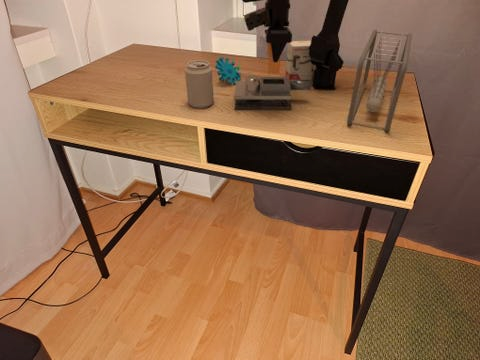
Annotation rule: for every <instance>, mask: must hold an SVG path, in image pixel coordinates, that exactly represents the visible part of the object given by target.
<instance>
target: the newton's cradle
mask: <svg viewBox="0 0 480 360" xmlns="http://www.w3.org/2000/svg"><path fill="white" fill-rule="evenodd" d="M378 34H379V36H378V39H377V35H378ZM384 34H386V35H394V36H396V35H397V36H401V37H400V38H399V39H398V42H395V41H391V43H395V44H397V45H396V46H393V45H390V47H393V48H394V47H395V48H394V50H393V53H392V54H390V56H391V58H390V60H386V59H382V55H384V56H386V54H384V53H382V52H381V51H383V49H382V48H381V47H382V46H384V47H387V45H384V44H381V39H383V38H384V39H386V37H384V36H382V35H384ZM405 36H406V39H405V44H404V46H403V51H402V55H401V58H400V61H399V56H400V52H401V47H402V42H403V38H404V37H405ZM412 37H413V34H412V33H411V32H408V33H400V32H387V31H386V32H385V31H378V30H377V29H373V30H372V33H371V34H370V37H369V39H368V41H367V42H366V45H365V47H364V49H363V51H362V53H361V55H360V57H359V60H358V64H357V69H356V74H355V80H354V84H353V89H352V95H351V99H350V105H349V109H348V110H349V111H348V116H347V120H346V121H347V122H346V123H347V124H348V126H350V125H352V124H355V125H361V126H367V127H372V128H378V129H384V131H385V132H390V130H391V126H392V122H393V119H394V115H395V112H396V108H397V105H398V101H399V98H400V97H399V96H400V94H401V90H402V86H403V83H404V80H405V76H406V72H407V68H408V65H409V64H408V62H409V57H410V49H411V44H412ZM390 39H393V40H396V37H395V38H392V37H390ZM376 41H377V42H376ZM382 42H384V43H385V42H386V43H388V41H386V40H382ZM387 51H390V52H392V50H390V49H387ZM365 60H366V65H365V69H364V75H363V80H362V84H361V87H360V81H361V78H362V72H363V68H364V63H365ZM372 61H373V65H374V67H373V83H372V86H371V87H368V86H367V81H368V77H369V72H370V68H371V64H372ZM381 62H383V63H388V64H387V66H386V68H385V71H384V73H383V75H382V76H381V75H380V74H381V71H382V70H381V66H382V65H381ZM393 64H399V65H398V69H397V74H396V76H395V81H394V84H393V89H392V90H390V89H389V90H388V89H386V86H387V85H388V84H387V78H388V75H389V72H390V70H391V69H392V66H393ZM366 86H367V87H366ZM359 87H360V89H359ZM365 89H368V90H369V89H370V91H369V95H368V96H367V100H366V102H365V103H366V104H365V107H366V109H367V110H368V111H369V112H372V113H374V112H377V111H379V110H380V108H381V106H382V102H383V97H384V95H385V92H387V93H388V92H389V93H391V98H390V102H389V107H388V111H387V112H388V113H387V116H386V122H385V125H384V126H385V127H384V126H378V125H373V124H367V123H364V122H363V123H361V122H356V121H354V118H355V115H356V113H357V110H358V107H359V106H360V102H361V99H362V97H363V94H364V92H365Z"/></svg>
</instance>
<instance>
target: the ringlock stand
mask: <svg viewBox="0 0 480 360" xmlns="http://www.w3.org/2000/svg"><path fill="white" fill-rule="evenodd" d="M234 86H235V88H234V111H292V109H293V107H292V102H291V98H292V97H291V91H311V88H312V81H311V80H289V78H288V77H285V76H259V75H253V74H251V75H246V76H244V80H241V81H236V85H234Z"/></svg>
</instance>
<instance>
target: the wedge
mask: <svg viewBox="0 0 480 360" xmlns="http://www.w3.org/2000/svg"><path fill="white" fill-rule="evenodd" d="M266 44H267V46H266V56H268V66H267V67H268V68H267V73H268V75H269V74H272V75H273V74H274V75H275V74H277V75H279V74H280V68H281V66H280V65H281V57H282V56H283V53H282V54H281V56H280V58H279V60H278V62H273V56H272V48H271V44H270V43H267V42H266Z"/></svg>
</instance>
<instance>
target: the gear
mask: <svg viewBox="0 0 480 360" xmlns="http://www.w3.org/2000/svg"><path fill="white" fill-rule="evenodd" d="M229 61H230V58H229V57H224V56H221V57H219V59H217V60H216V61H215V63H216V64H215V66H214V68H215V70H217V72H216V74H217V76H219V78H218V81H222V82H225V81H226V80H227V79H228V80H227V84H228V85H230V86H231V85H234V86H235V85H236V81H242V79H241V77H242V73H241V72H239V71H240V69H241V68H242V67H241V65H239V64H238V65H237V66H235V64H236V63H235V61H234V60H232V61H231V62H230V63H229Z"/></svg>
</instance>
